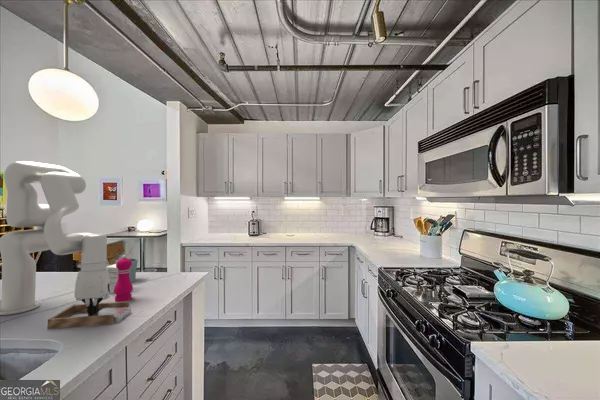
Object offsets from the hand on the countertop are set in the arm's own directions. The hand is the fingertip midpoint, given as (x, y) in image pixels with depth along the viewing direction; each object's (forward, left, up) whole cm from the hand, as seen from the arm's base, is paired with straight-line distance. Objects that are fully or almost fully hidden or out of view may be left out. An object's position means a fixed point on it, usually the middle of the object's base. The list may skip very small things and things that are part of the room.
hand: (92, 315), depth 100 cm
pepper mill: (+3, +19, -1) cm, 19 cm away
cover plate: (+7, -1, -1) cm, 7 cm away
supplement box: (-5, +32, -1) cm, 32 cm away
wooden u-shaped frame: (0, 0, -1) cm, 1 cm away
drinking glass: (-7, +48, -1) cm, 49 cm away
